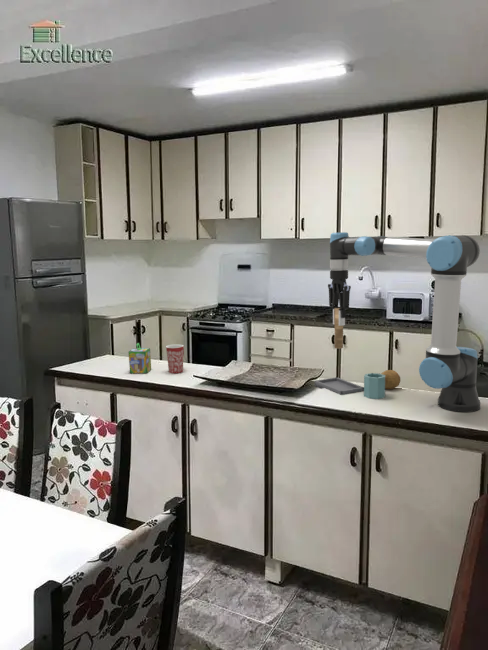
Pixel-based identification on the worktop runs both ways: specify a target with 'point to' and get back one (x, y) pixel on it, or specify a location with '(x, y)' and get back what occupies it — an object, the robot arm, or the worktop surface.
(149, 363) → the chalk box
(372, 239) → the robot arm
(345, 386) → the tray
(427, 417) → the worktop surface
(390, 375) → the potato
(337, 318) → the dowel
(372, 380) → the cup
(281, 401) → the worktop surface
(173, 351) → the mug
